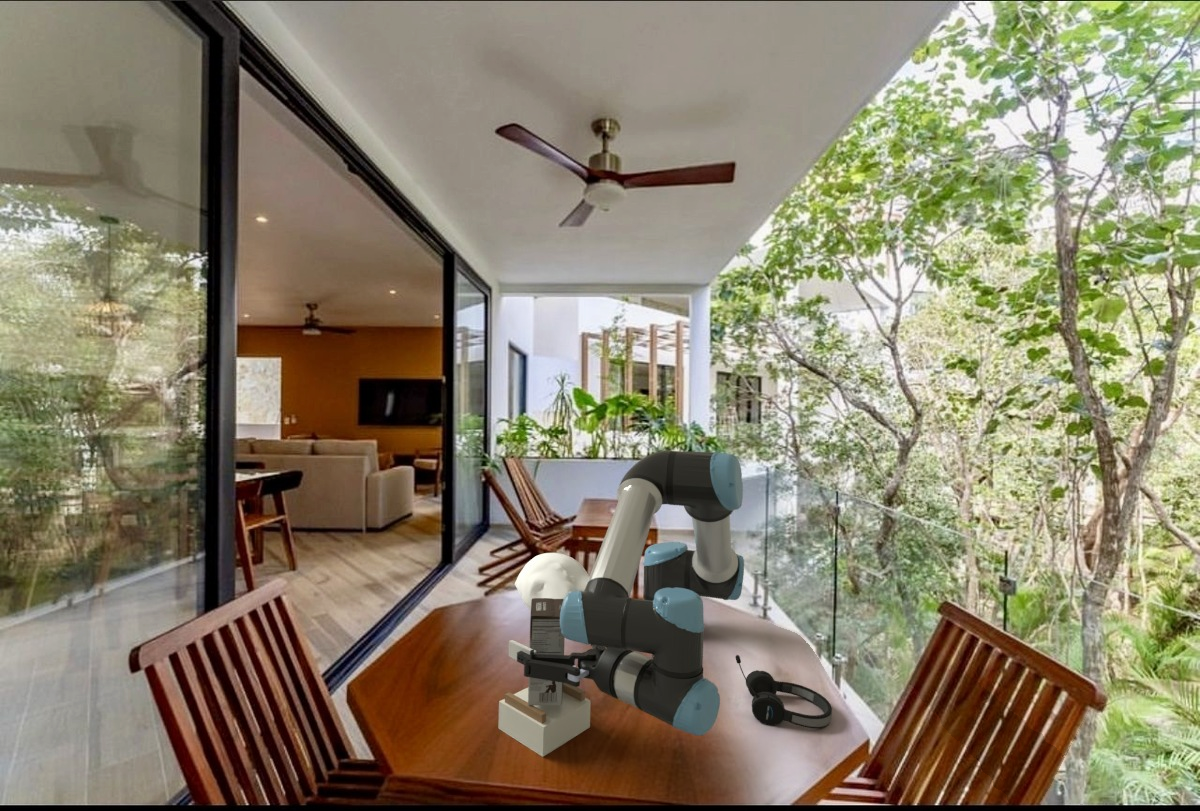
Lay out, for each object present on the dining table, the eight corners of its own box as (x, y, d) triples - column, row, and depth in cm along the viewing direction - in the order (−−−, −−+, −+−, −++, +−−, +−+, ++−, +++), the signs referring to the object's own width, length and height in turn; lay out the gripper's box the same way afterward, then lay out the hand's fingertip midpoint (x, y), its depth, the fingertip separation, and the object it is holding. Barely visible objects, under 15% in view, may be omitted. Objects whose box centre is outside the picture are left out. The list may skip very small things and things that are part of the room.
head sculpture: (569, 656, 143) (500, 613, 156) (609, 614, 159) (543, 579, 171) (573, 604, 137) (501, 563, 149) (614, 565, 153) (546, 532, 165)
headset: (733, 644, 116) (826, 663, 113) (727, 686, 117) (820, 706, 114) (739, 672, 104) (844, 694, 101) (732, 719, 104) (837, 743, 101)
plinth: (545, 703, 109) (546, 670, 109) (589, 727, 101) (590, 692, 101) (498, 728, 100) (499, 693, 100) (542, 757, 92) (543, 718, 92)
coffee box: (529, 680, 105) (531, 597, 105) (562, 680, 105) (564, 597, 105) (526, 706, 95) (529, 615, 96) (563, 705, 96) (565, 614, 96)
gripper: (572, 731, 78) (483, 680, 92) (669, 672, 97) (583, 637, 111) (574, 679, 78) (485, 636, 92) (670, 630, 97) (584, 600, 111)
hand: (538, 636), depth 102 cm, fingers open, 13 cm apart
